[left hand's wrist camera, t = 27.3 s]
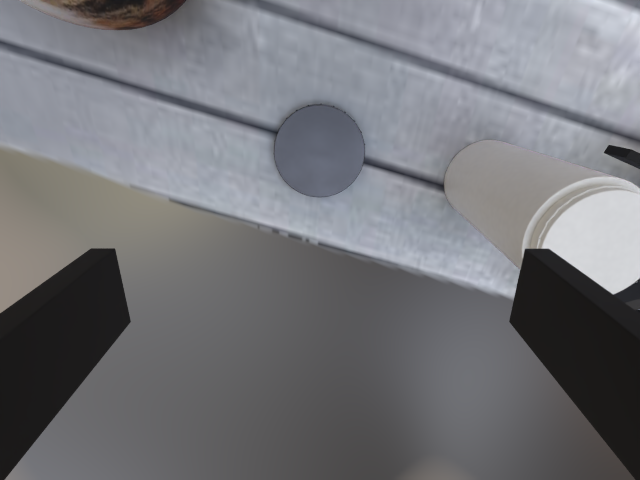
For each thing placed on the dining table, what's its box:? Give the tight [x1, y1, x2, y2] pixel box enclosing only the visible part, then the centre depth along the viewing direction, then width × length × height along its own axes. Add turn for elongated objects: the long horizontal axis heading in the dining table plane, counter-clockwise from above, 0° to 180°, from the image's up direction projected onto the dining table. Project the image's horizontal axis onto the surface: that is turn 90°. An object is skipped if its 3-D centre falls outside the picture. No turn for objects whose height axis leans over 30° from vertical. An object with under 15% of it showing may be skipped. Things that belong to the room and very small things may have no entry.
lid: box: [274, 104, 365, 197], centre depth 39 cm, size 9×9×2 cm
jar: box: [444, 140, 640, 294], centre depth 33 cm, size 8×8×19 cm
